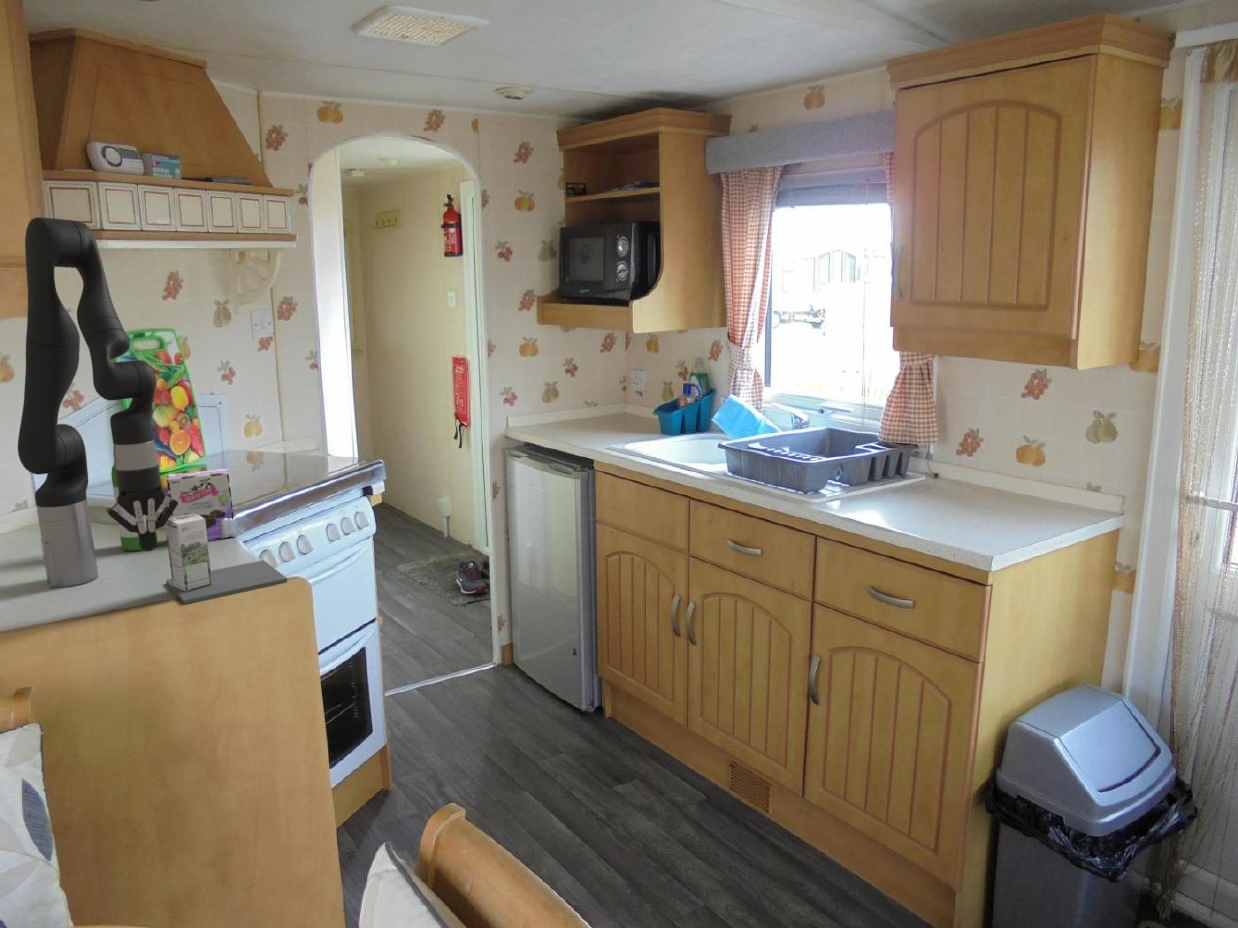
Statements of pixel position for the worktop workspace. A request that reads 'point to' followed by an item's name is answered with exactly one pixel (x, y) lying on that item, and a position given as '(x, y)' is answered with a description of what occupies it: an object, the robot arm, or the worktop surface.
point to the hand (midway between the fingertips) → (148, 549)
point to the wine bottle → (128, 538)
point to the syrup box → (188, 552)
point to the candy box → (203, 497)
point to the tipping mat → (232, 581)
